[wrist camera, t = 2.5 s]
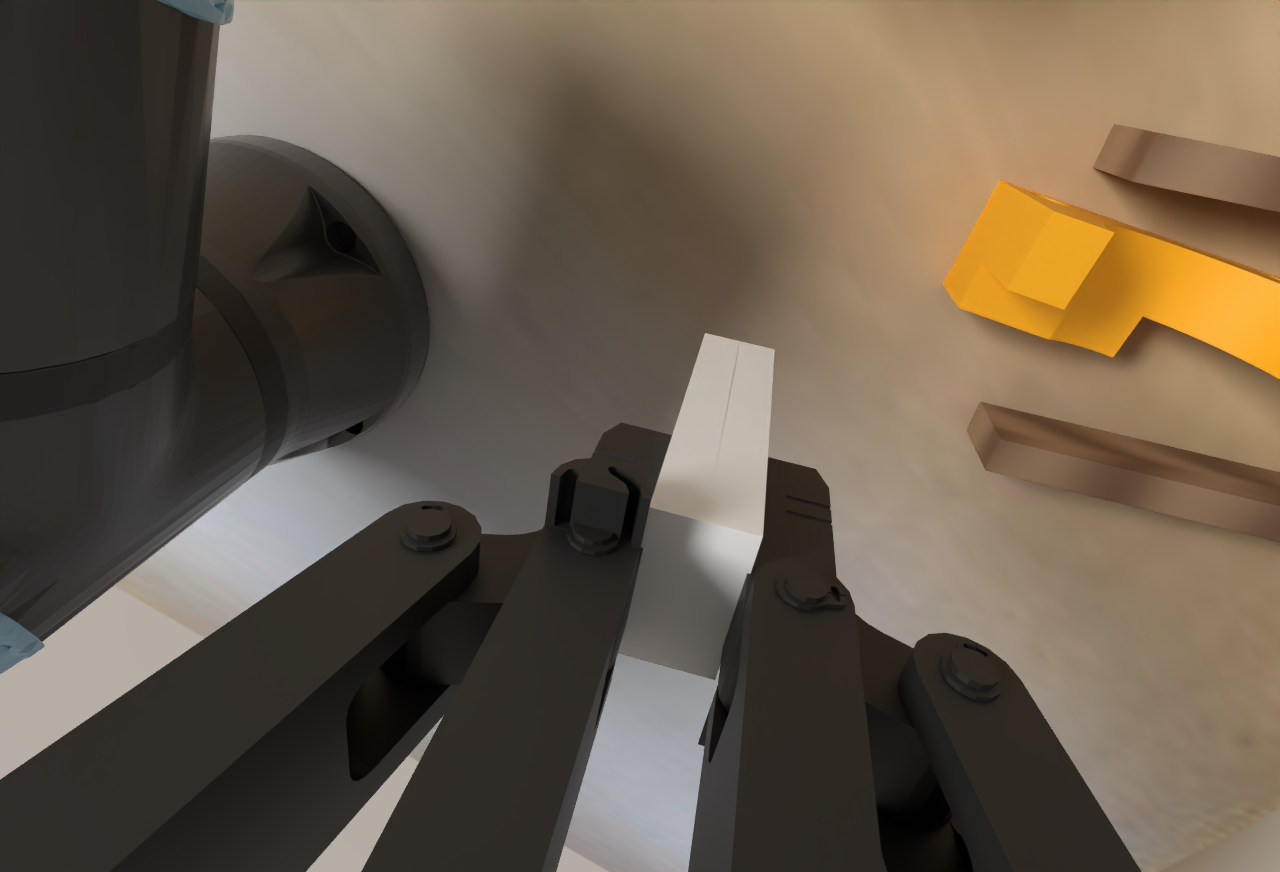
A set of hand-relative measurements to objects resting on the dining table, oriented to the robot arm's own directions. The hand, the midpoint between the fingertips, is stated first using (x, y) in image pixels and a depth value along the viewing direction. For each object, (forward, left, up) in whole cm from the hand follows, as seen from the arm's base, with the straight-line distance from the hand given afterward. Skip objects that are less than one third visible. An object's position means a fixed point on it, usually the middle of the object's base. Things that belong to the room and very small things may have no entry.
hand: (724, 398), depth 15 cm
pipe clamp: (+14, +1, -17) cm, 22 cm away
